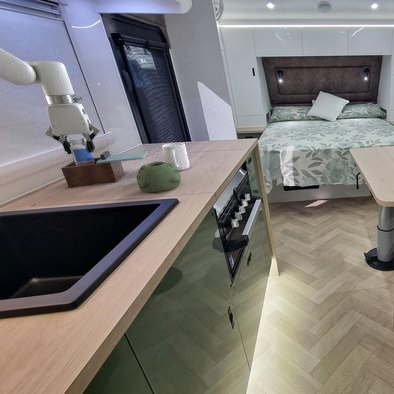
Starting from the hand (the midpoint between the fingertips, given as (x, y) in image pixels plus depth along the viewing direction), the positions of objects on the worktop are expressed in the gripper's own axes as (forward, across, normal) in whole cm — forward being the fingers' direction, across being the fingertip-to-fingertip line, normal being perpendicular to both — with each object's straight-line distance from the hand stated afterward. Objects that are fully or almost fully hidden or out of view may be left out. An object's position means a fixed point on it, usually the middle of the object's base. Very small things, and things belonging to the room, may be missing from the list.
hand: (81, 152), depth 106 cm
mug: (+11, -29, -1) cm, 31 cm away
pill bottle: (+5, 0, 0) cm, 5 cm away
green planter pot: (+11, -25, +20) cm, 34 cm away
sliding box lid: (+3, -12, 0) cm, 13 cm away
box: (+11, -2, 0) cm, 11 cm away
